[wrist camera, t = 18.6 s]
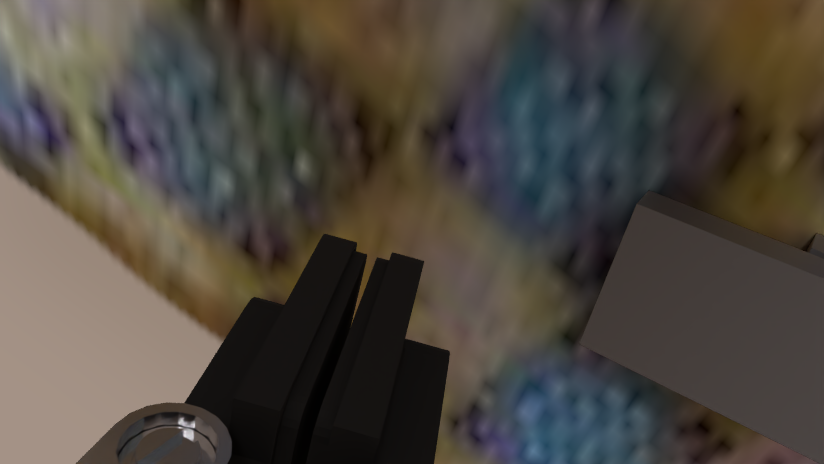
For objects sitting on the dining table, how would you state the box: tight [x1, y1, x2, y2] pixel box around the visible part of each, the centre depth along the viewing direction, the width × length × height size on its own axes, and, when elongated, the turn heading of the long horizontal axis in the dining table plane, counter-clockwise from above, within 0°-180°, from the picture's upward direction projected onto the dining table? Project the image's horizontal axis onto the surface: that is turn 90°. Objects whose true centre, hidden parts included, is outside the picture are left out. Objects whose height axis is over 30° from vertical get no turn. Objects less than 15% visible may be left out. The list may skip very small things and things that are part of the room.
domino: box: [579, 190, 824, 464], centre depth 20 cm, size 2×5×10 cm
